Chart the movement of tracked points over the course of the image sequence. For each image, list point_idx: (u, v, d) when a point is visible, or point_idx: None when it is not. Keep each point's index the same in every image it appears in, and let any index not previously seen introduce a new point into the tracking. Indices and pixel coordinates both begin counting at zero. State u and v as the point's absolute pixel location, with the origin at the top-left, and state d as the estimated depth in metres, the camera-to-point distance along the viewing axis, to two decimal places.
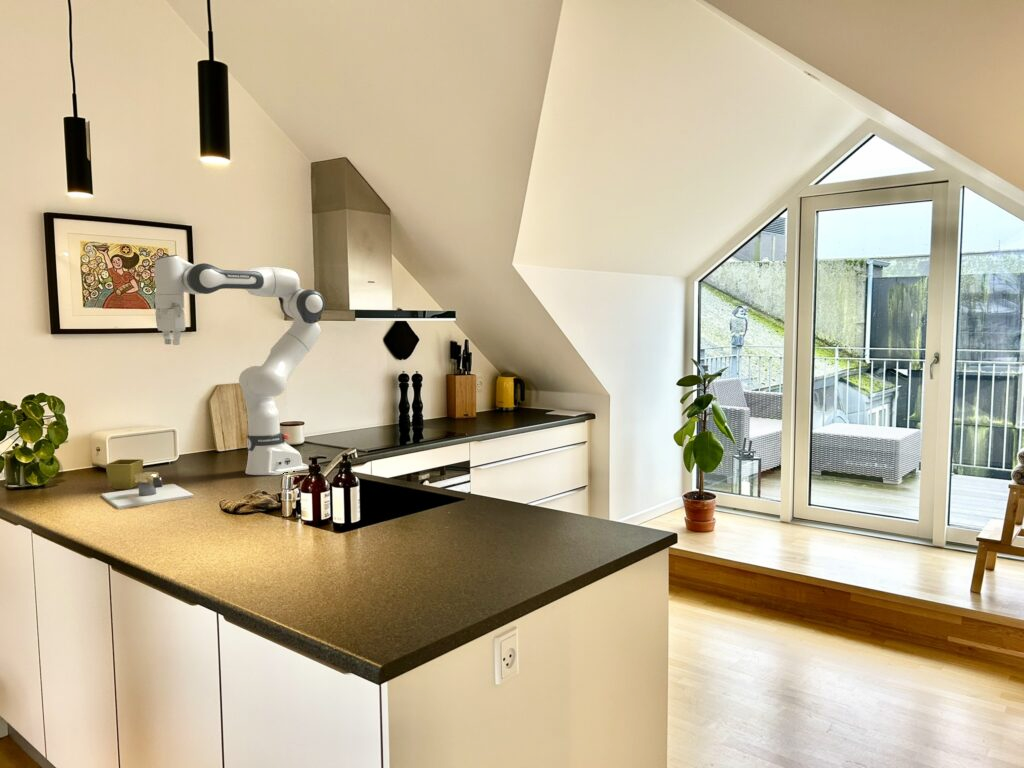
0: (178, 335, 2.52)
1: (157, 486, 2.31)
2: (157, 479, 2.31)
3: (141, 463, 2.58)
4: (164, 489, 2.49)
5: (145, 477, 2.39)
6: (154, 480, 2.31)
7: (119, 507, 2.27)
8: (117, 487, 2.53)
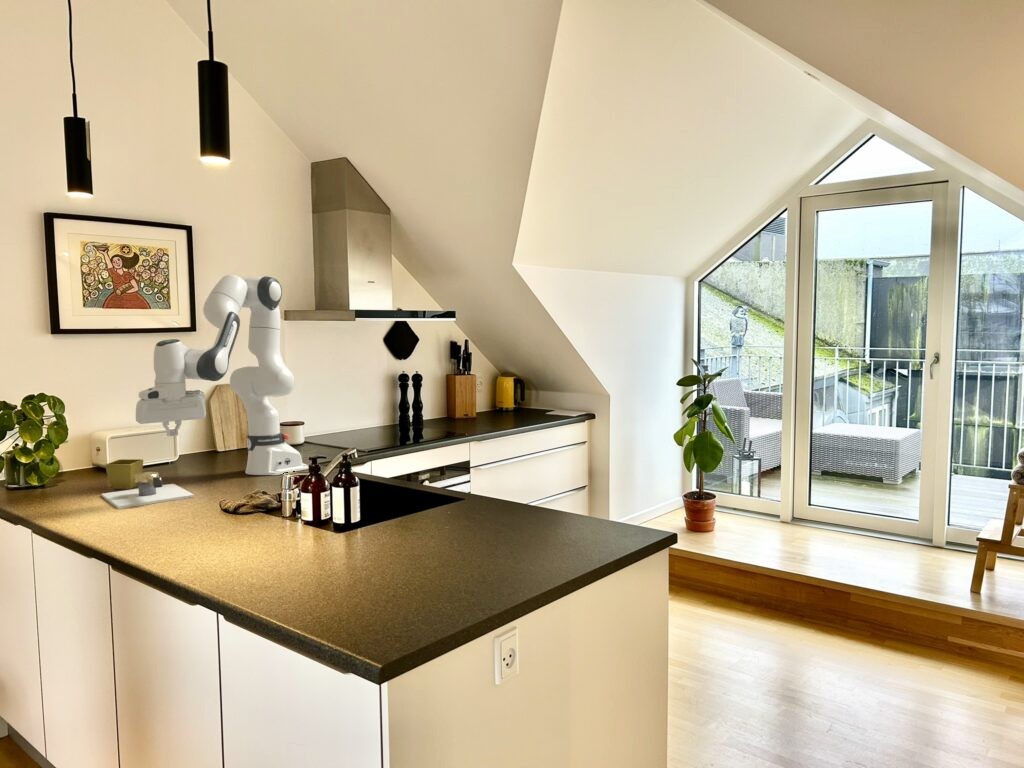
0: None
1: (157, 486, 2.31)
2: (157, 479, 2.31)
3: (141, 463, 2.58)
4: (164, 489, 2.49)
5: (145, 477, 2.39)
6: (154, 480, 2.31)
7: (119, 507, 2.27)
8: (117, 487, 2.53)
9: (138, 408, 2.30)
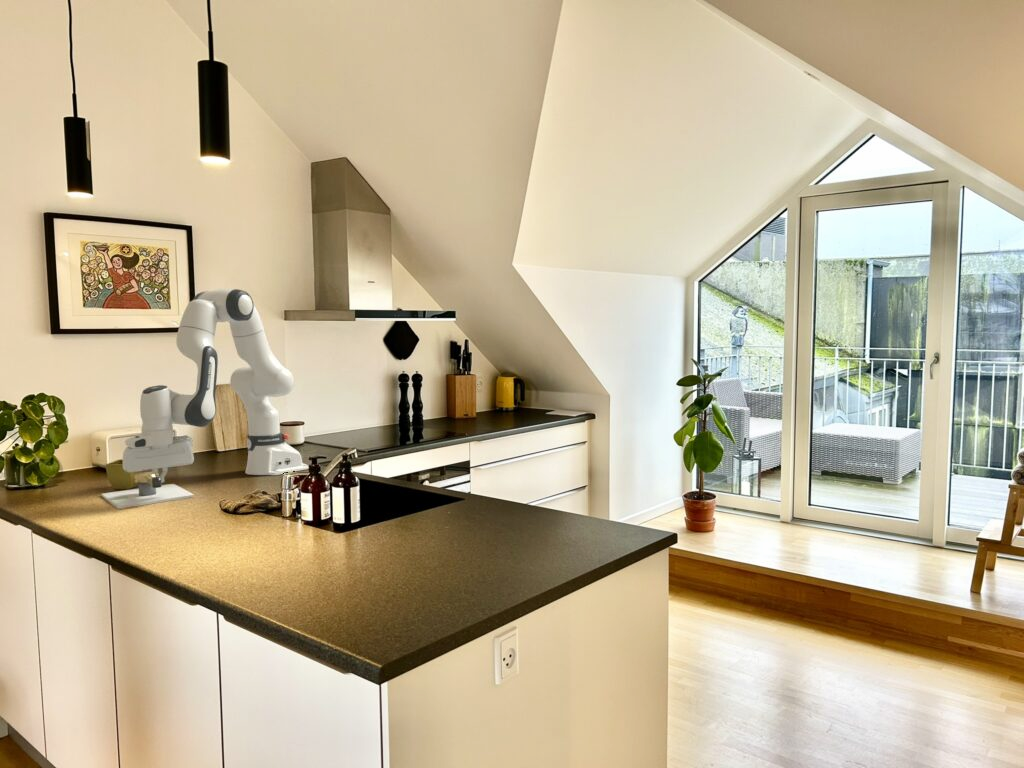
0: None
1: (155, 486, 2.31)
2: (156, 479, 2.31)
3: None
4: (164, 489, 2.49)
5: (145, 477, 2.39)
6: (153, 480, 2.31)
7: (119, 507, 2.27)
8: (117, 487, 2.53)
9: (125, 457, 2.28)
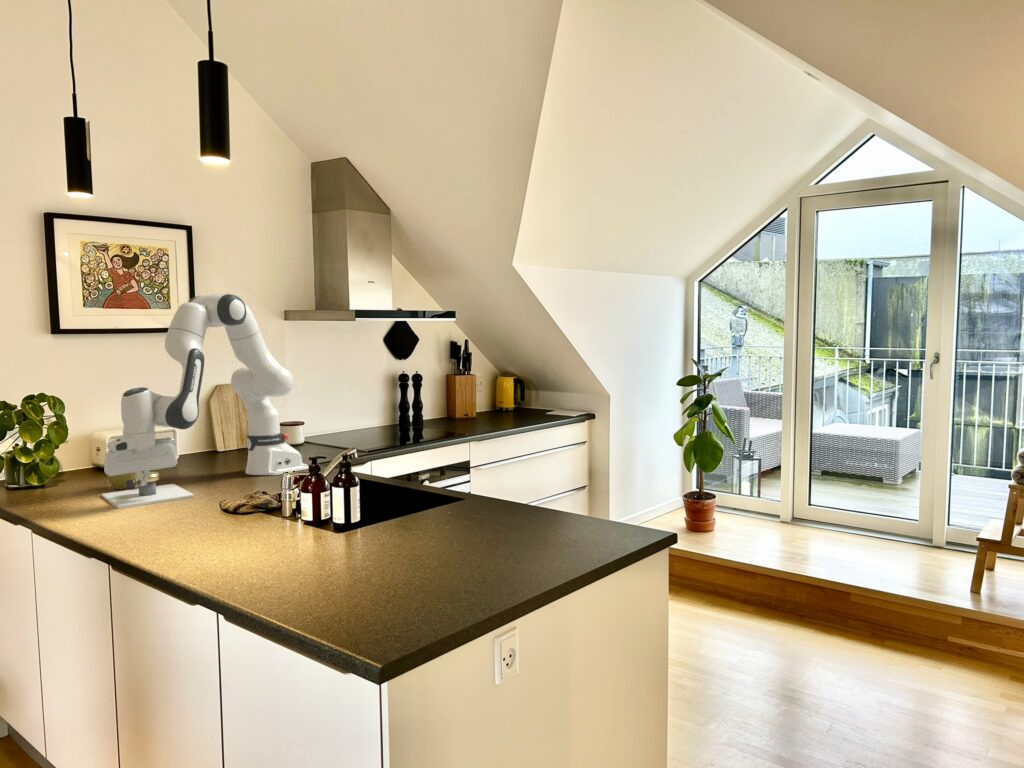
0: None
1: (127, 488, 2.28)
2: (128, 481, 2.28)
3: None
4: (164, 489, 2.49)
5: None
6: (126, 482, 2.29)
7: (119, 507, 2.27)
8: (117, 487, 2.53)
9: (106, 460, 2.26)
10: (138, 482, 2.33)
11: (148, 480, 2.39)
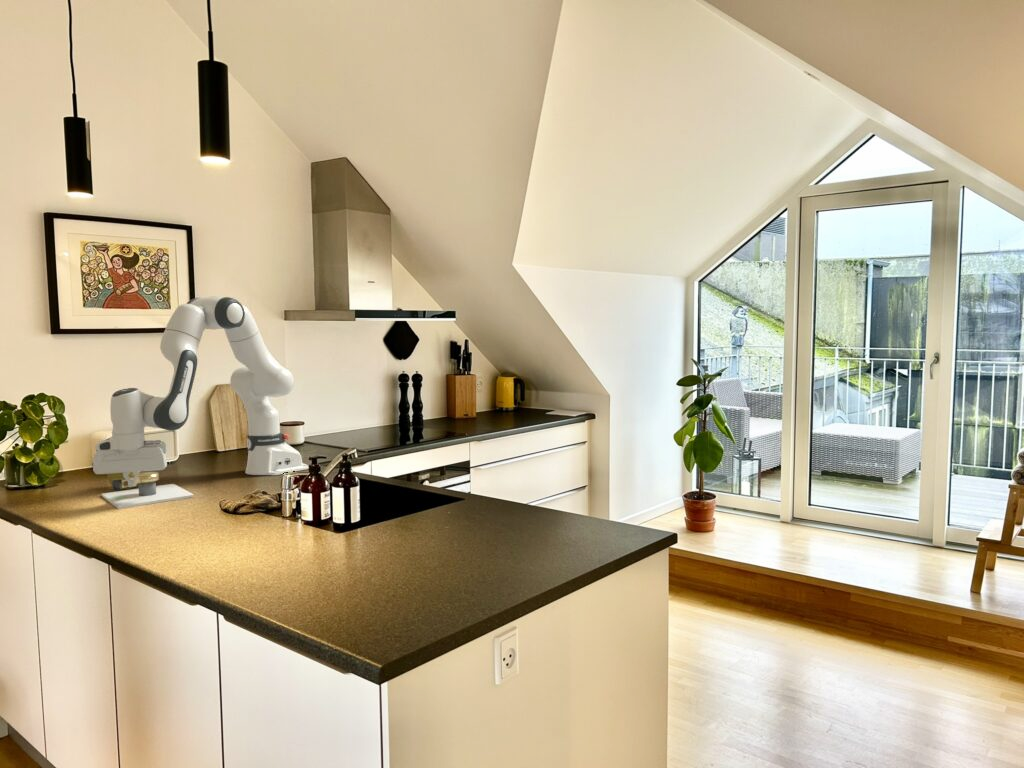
0: (138, 475, 2.33)
1: (112, 488, 2.29)
2: (112, 481, 2.29)
3: None
4: (164, 489, 2.49)
5: None
6: None
7: (119, 507, 2.27)
8: None
9: None
10: (127, 482, 2.33)
11: (144, 480, 2.39)
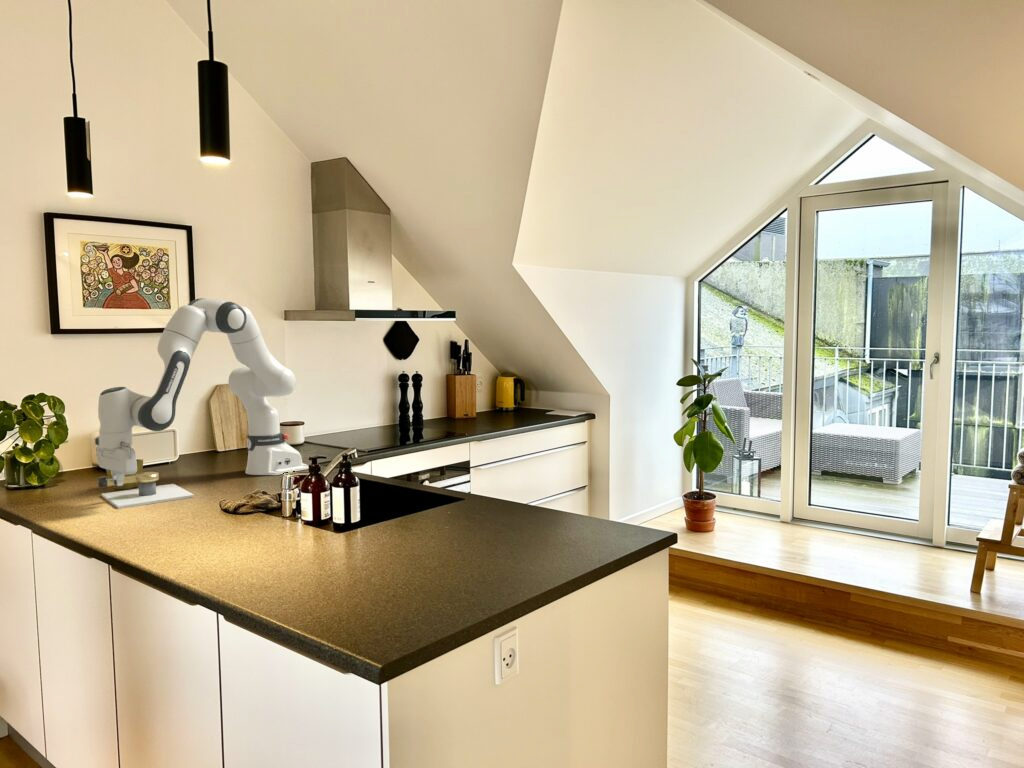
0: (122, 475, 2.31)
1: None
2: (98, 478, 2.33)
3: (141, 463, 2.58)
4: (164, 489, 2.49)
5: None
6: None
7: (119, 507, 2.27)
8: (117, 487, 2.53)
9: None
10: None
11: (137, 480, 2.39)
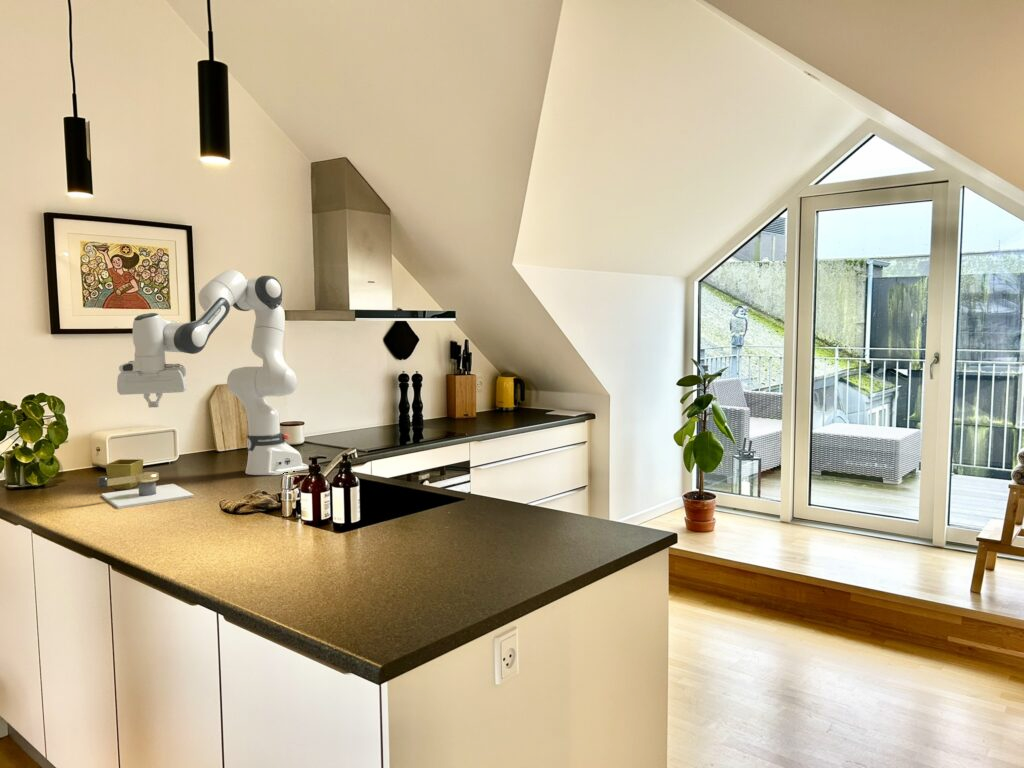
0: (161, 396, 2.45)
1: None
2: (98, 478, 2.33)
3: (141, 463, 2.58)
4: (164, 489, 2.49)
5: None
6: None
7: (119, 507, 2.27)
8: (117, 487, 2.53)
9: None
10: (115, 481, 2.35)
11: (137, 480, 2.39)
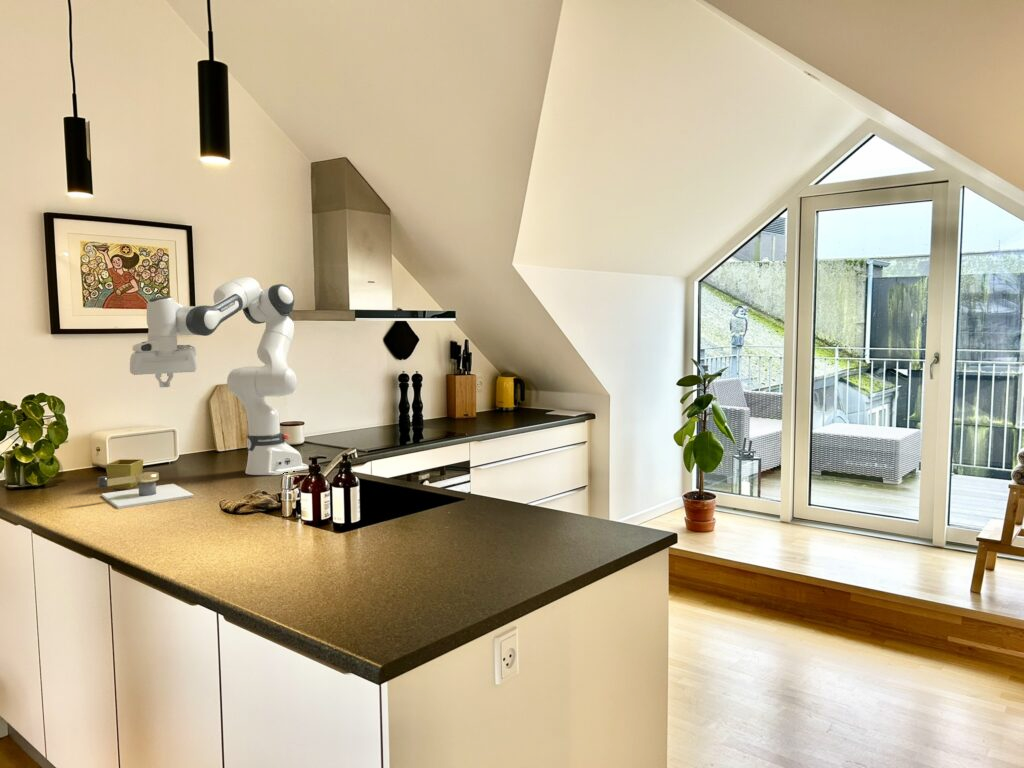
0: None
1: None
2: (98, 478, 2.33)
3: (141, 463, 2.58)
4: (164, 489, 2.49)
5: None
6: None
7: (119, 507, 2.27)
8: (117, 487, 2.53)
9: (132, 360, 2.44)
10: (115, 481, 2.35)
11: (137, 480, 2.39)
